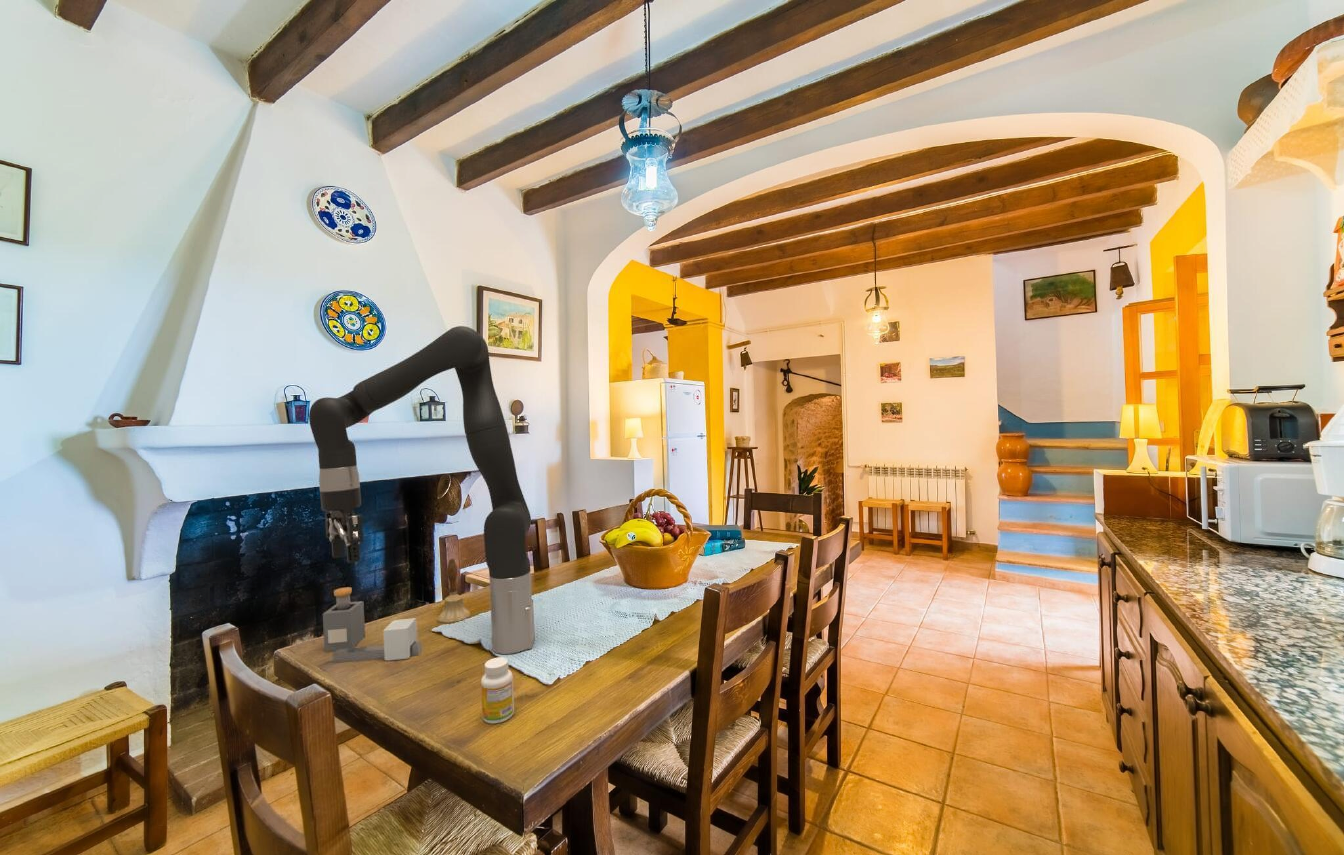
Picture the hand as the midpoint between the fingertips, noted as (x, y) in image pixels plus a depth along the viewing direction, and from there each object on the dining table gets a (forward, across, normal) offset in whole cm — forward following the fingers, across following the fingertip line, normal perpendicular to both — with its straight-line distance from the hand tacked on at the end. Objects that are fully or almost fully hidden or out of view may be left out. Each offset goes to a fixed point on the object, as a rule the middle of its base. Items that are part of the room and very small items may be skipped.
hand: (346, 559), depth 115 cm
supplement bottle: (+24, -46, -7) cm, 52 cm away
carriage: (+23, -6, -8) cm, 25 cm away
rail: (+23, -2, -4) cm, 24 cm away
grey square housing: (+23, +12, -2) cm, 26 cm away
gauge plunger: (+15, +12, -3) cm, 19 cm away
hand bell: (+24, +6, -27) cm, 36 cm away
